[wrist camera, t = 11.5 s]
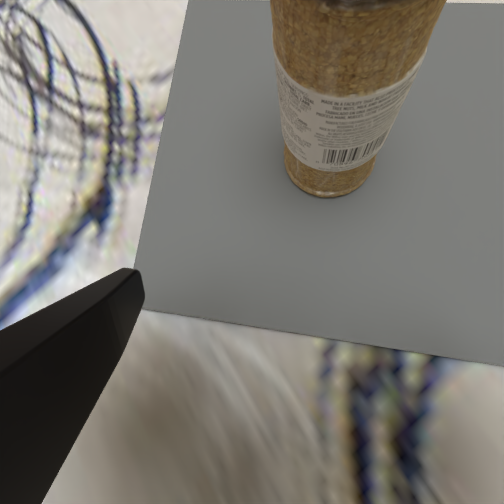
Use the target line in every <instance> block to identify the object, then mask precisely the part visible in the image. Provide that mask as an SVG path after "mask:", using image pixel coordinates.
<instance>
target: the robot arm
mask: <svg viewBox="0 0 504 504" xmlns="http://www.w3.org/2000/svg"><path fill="white" fill-rule="evenodd" d="M144 301H145V291H144V286H143V281H142V276H141V273H140V271H139V270H137V269H131V268H122V269H120V270H118V271H116V272H114V273H112V274H110V275H108V276H106V277H104V278H102V279H100V280H98V281H96V282H94V283H92V284H90V285H88V286H86V287H84V288H82V289H80V290H78V291H77V292H75V293H73V294H71V295H69V296H67V297H65V298H63V299H61V300H59V301H57V302H55V303H53V304H51V305H49V306H47V307H45V308H43V309H41V310H39V311H37V312H35V313H34V314H32V315H30V316H28V317H26V318H24V319H22V320H20V321H18V322H16V323H14V324H12V325H10V326H8V327H6V328H4V329H2V330H0V504H41V503H42V502H43V500H44V498H45V496H46V494H47V492H48V491H49V489H50V487H51V485H52V483H53V481H54V479H55V478H56V476H57V474H58V472H59V470H60V468H61V467H62V465H63V463H64V461H65V459H66V457H67V456H68V454H69V452H70V450H71V448H72V446H73V445H74V443H75V441H76V439H77V437H78V435H79V434H80V432H81V430H82V428H83V426H84V424H85V423H86V421H87V419H88V417H89V415H90V413H91V412H92V410H93V408H94V406H95V404H96V402H97V400H98V399H99V397H100V395H101V393H102V391H103V389H104V388H105V386H106V384H107V382H108V380H109V378H110V377H111V375H112V373H113V371H114V369H115V367H116V366H117V364H118V362H119V360H120V358H121V356H122V354H123V352H124V350H125V348H126V345H127V343H128V340H129V338H130V336H131V333H132V331H133V328H134V326H135V323H136V321H137V318H138V316H139V314H140V311H141V309H142V306H143V304H144Z"/></svg>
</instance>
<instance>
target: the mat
mask: <svg viewBox="0 0 504 504" xmlns="http://www.w3.org/2000/svg"><path fill="white" fill-rule="evenodd" d="M272 26H273V23H272V13H271V6H270V0H189V1H188V6H187V10H186V15H185V20H184V25H183V30H182V35H181V40H180V45H179V49H178V54H177V59H176V64H175V69H174V74H173V79H172V83H171V88H170V93H169V98H168V103H167V108H166V113H165V118H164V122H163V127H162V132H161V137H160V142H159V147H158V152H157V156H156V161H155V166H154V171H153V176H152V181H151V186H150V190H149V195H148V200H147V205H146V210H145V215H144V220H143V225H142V229H141V234H140V239H139V244H138V249H137V254H136V259H135V263H134V268H133V269H137V270H139V271H140V273H141V276H142V281H143V286H144V291H145V301H144V304H143V306H142V309H147V310H154V311H160V312H166V313H173V314H179V315H185V316H191V317H198V318H204V319H210V320H217V321H223V322H229V323H235V324H242V325H248V326H254V327H261V328H267V329H273V330H279V331H286V332H292V333H298V334H304V335H311V336H317V337H323V338H330V339H336V340H342V341H348V342H355V343H361V344H367V345H374V346H380V347H386V348H392V349H399V350H405V351H411V352H417V353H424V354H430V355H436V356H443V357H449V358H455V359H461V360H468V361H474V362H480V363H487V364H493V365H499V366H504V4H494V3H445V5H444V7H443V9H442V11H441V14H440V16H439V18H438V21H437V23H436V25H435V27H434V29H433V32H432V34H431V37H430V39H429V42H428V45H427V52H426V55H425V57H424V59H423V61H422V64H421V66H420V68H419V70H418V72H417V74H416V77H415V79H414V81H413V83H412V85H411V87H410V89H409V92H408V94H407V96H406V98H405V100H404V102H403V104H402V106H401V108H400V111H399V113H398V115H397V117H396V119H395V121H394V123H393V125H392V128H391V130H390V132H389V134H388V136H387V138H386V140H385V142H384V144H383V146H382V147H381V149H380V150H379V151H378V153H377V155H376V161H375V164H374V167H373V170H372V172H371V174H370V175H369V176H368V177H367V179H366V180H365V181H364V182H363V184H362V185H361V186H359V187H358V188H357V189H355V190H353V191H352V192H350V193H348V194H345V195H340V196H337V197H324V198H323V197H319V196H315V195H312V194H309V193H307V192H306V191H304V190H302V189H300V188H299V187H298V186H297V185H296V184H295V183H293V181H292V180H291V178H290V176H289V175H288V173H287V171H286V167H285V163H284V147H285V143H284V137H283V134H282V127H281V117H280V107H279V98H278V88H277V78H276V69H275V61H274V52H273V43H272Z"/></svg>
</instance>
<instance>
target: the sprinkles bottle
mask: <svg viewBox="0 0 504 504" xmlns="http://www.w3.org/2000/svg"><path fill="white" fill-rule="evenodd" d="M446 1H447V0H270V6H271V13H272V23H273V26H272V43H273V52H274V61H275V69H276V78H277V88H278V98H279V107H280V117H281V127H282V134H283V137H284V143H285V147H284V163H285V167H286V171H287V173H288V175H289V176H290V178H291V180H292V181H293V183H295V184H296V185H297V186H298V187H299V188H300V189H302V190H304V191H306V192H307V193H309V194H312V195H315V196H319V197H323V198H324V197H337V196H340V195H345V194H348V193H350V192H352V191H353V190H355V189H357V188H358V187H359V186H361V185H362V184H363V182H364V181H365V180H366V179H367V177H368V176H369V175H370V174H371V172H372V170H373V167H374V164H375V161H376V155H377V153H378V151H379V150H380V149H381V147H382V146H383V144H384V142H385V140H386V138H387V136H388V134H389V132H390V130H391V128H392V125H393V123H394V121H395V119H396V117H397V115H398V113H399V111H400V108H401V106H402V104H403V102H404V100H405V98H406V96H407V94H408V92H409V89H410V87H411V85H412V83H413V81H414V79H415V77H416V74H417V72H418V70H419V68H420V66H421V64H422V61H423V59H424V57H425V55H426V52H427V45H428V42H429V39H430V37H431V34H432V32H433V29H434V27H435V25H436V23H437V21H438V18H439V16H440V14H441V11H442V9H443V7H444V5H445V3H446Z"/></svg>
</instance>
